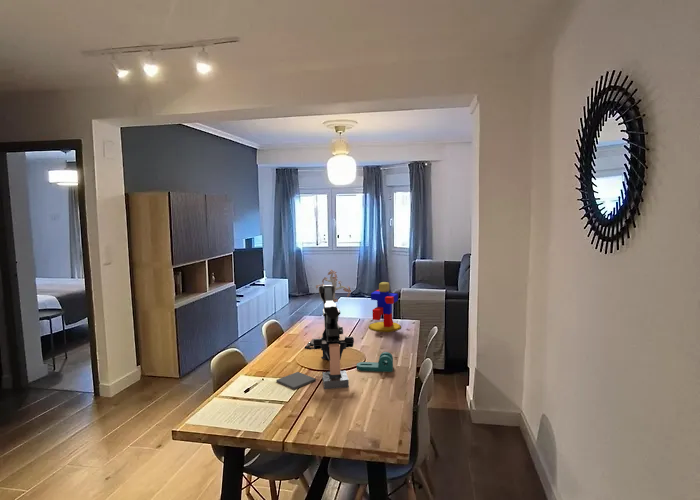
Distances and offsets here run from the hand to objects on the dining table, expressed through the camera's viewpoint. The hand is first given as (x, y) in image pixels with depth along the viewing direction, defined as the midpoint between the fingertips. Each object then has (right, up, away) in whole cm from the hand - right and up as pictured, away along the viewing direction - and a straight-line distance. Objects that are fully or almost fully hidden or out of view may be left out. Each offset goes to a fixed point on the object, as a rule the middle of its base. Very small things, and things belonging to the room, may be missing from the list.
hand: (334, 360), depth 197 cm
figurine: (+30, -2, +91) cm, 96 cm away
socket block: (0, -11, +3) cm, 12 cm away
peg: (0, -6, +2) cm, 7 cm away
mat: (-18, -11, +6) cm, 22 cm away
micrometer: (-14, -7, +58) cm, 60 cm away
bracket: (+19, -10, +19) cm, 29 cm away
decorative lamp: (-3, -3, +84) cm, 84 cm away
